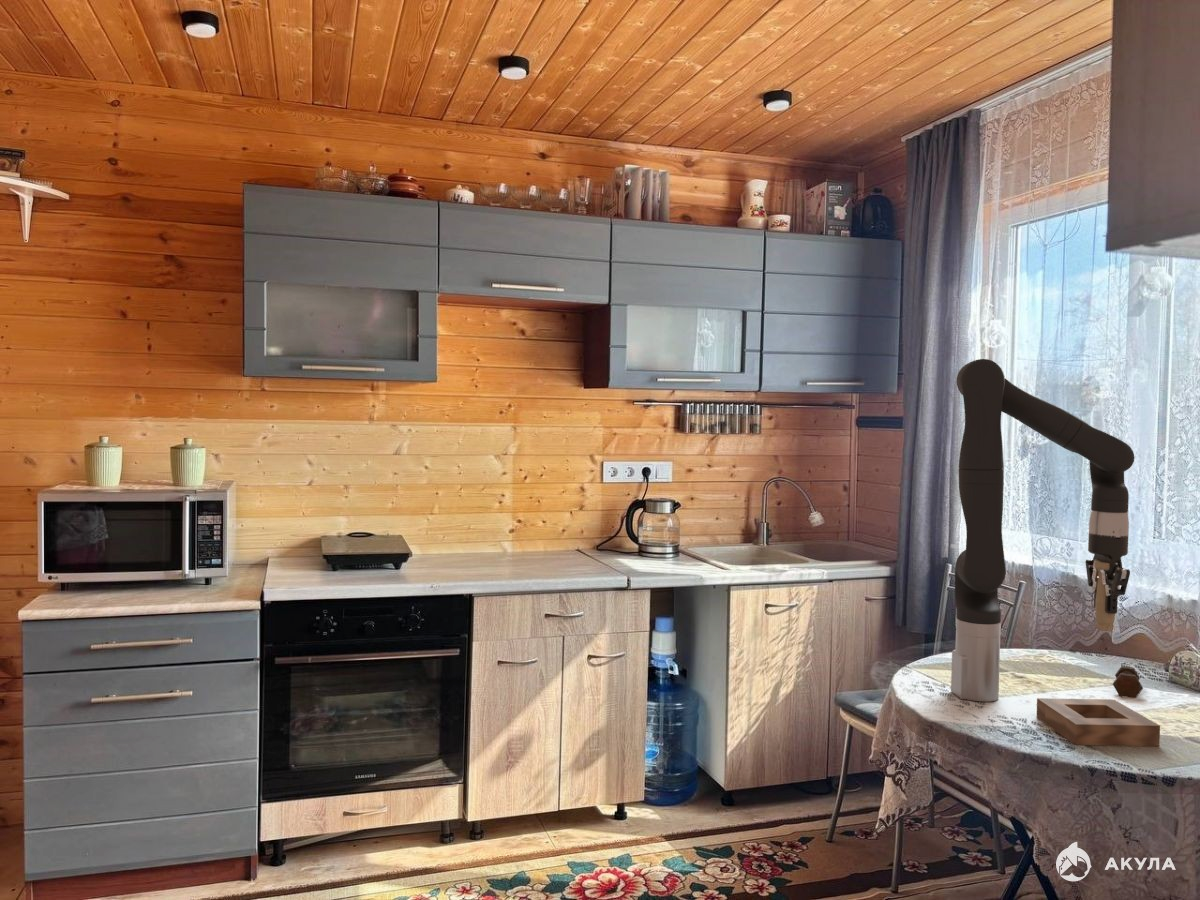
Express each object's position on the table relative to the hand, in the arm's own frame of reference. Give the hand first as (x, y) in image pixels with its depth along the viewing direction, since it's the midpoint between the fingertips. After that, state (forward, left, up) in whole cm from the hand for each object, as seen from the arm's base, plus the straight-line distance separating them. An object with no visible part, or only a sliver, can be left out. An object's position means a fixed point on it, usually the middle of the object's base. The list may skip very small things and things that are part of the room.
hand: (1105, 610), depth 198 cm
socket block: (-10, -16, -21) cm, 28 cm away
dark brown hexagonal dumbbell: (+13, +14, -22) cm, 29 cm away
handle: (0, 0, -4) cm, 4 cm away
